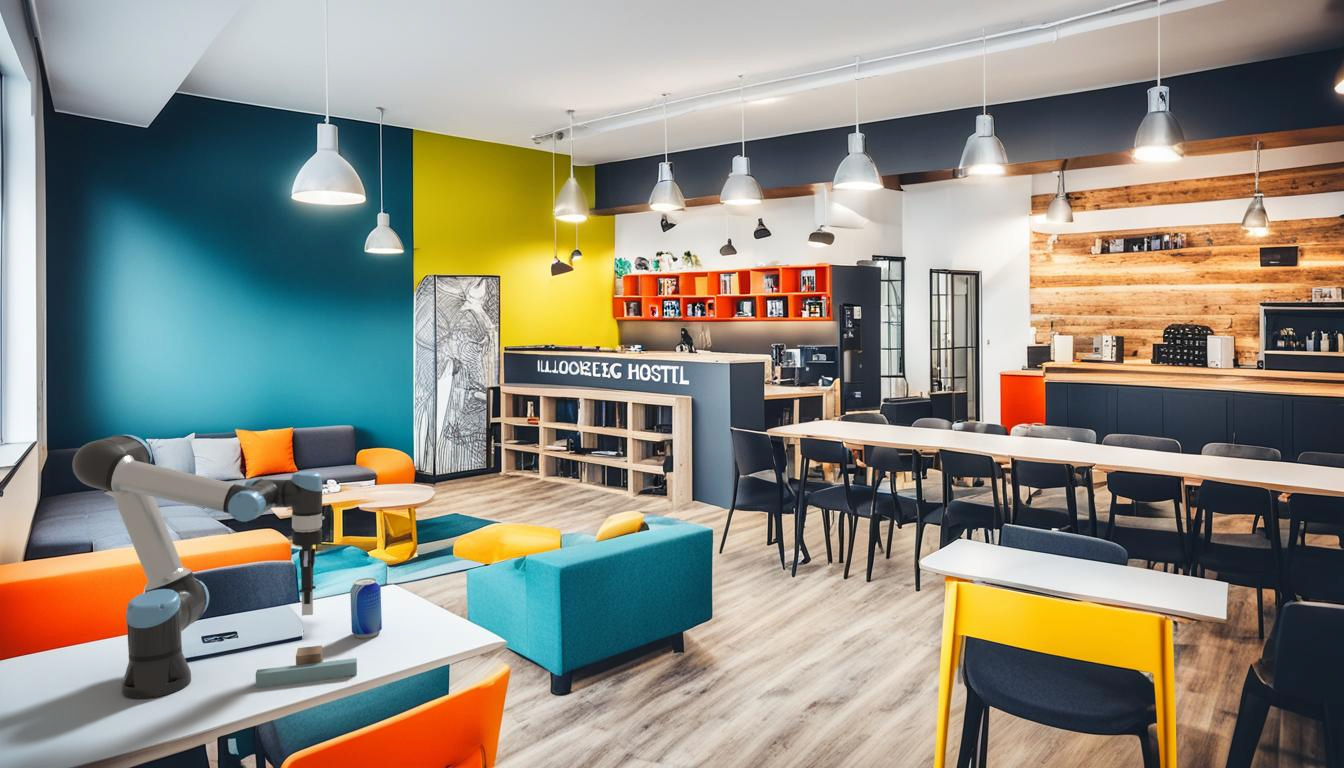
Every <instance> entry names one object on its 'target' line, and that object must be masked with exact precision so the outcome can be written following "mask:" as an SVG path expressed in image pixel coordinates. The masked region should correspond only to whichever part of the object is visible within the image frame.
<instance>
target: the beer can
mask: <svg viewBox="0 0 1344 768" xmlns="http://www.w3.org/2000/svg"><path fill="white" fill-rule="evenodd" d="M381 590H382V589H381V585H380V584H379V582H378V580H377V578H374V577H363V578H359V579H356V580H354V581H353V584H352V587H351V588H350V615H351V617H350V618H351V622H350V623H351V633H352V634H353V635H354V637H355V638H357V639H370V638H374V637H376V636H378V635H379V634H380V632H381V630H382V629H383V624H382V620H383V619H382V596H381V595H382V594H381V592H382V591H381Z"/></svg>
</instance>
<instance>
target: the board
mask: <svg viewBox="0 0 1344 768" xmlns="http://www.w3.org/2000/svg"><path fill="white" fill-rule="evenodd" d="M357 661H358V658H357V657H355V658H353V657H352V658H345V659H338V660H328V661H323V662H319V663H311V664H302V665H296V664H295V665H286V666H279V667H277V666H276V667H269V668H268V667H267V668H261V669H260V668H259V669H256V672H255V688H265V687H273V686H274V687H275V686H280V685H289V684H297V683H305V682H313V681H321V680H322V679H323V680H328V679H327V678H331V679H336V678H335V677H339V678H344V677H343V676H347V677H352V676H351V675H355V676H357V675H358V666H357V665H358V662H357Z"/></svg>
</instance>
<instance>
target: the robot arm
mask: <svg viewBox="0 0 1344 768" xmlns="http://www.w3.org/2000/svg"><path fill="white" fill-rule="evenodd" d="M152 461H153V452H152V449H151V448H150V446H149V445H148V443H147V442H146V441H145V440H143V439H142V438H141V437H138V436H136V435H132V434H116V435H111V436H109V437H105V438H103V439H102V438H101V439H98V440H94V441H91V442H88V443H86V444H84V445H82V446H81V447H80V448H78V450H77V451H76V453H75V455H74V456H73V459H72V471H73V474H74V475H75V477H76V479H78V481H80V482H81V483H82V484H84V485H86V486H88V487H91V488H95V489H99V490H102V491H103V493H104V495H108V496H109V497H112V499H114V503H115V504H116V506H117V510H118V512H119V515H120V517H121V519H122V521H123V524H124V527H125V528H126V531H127V533H128V536H129V538H130V541H131V543H132V545H133V548H134V550H135V552H136V553H135V554H136V555H137V557H138V560H139V562H140V565H141V567H142V569H143V572H144V574H145V577H146V579H147V583H146V585H145V586H144V591H145V593H139V594H138V595H137V596H134V597H133V598H131V600H129V602H128V603H127V605H126V614H125V621H126V631H127V649H128V650H127V651H128V663H127V667H126V671H125V673H124V677H123V679H122V683H121V689H122V690H121V693H122V695H123V696H124V697H126V698H130V699H151V698H157V697H162V696H166V695H169V694H172V693H176V692H177V691H180V690H182V689H185V687H187V686H188V685H189V684H190V683H191V682H192V673H191V669H190V667H189V665H188V663H187V660H186V658H185V656H184V653H183V649H182V648H183V647H182V646H183V645H182V632H183V631H184V630H185V629H187V628H188V627H189V626H190V625H192V624H194V623H195V622H196V621H199V619H200V618H201V616H203V614H204V613H206V612H205V611H206V610H207V608H208V606H209V603H210V593H209V590H208V589H209V588H208V587H207V586H206V585H205V583H204V582H203V581H201V580H198V579H197V578H195V576H194V573H193V571H192V570H191V569H189V568H187V567H184V566H183V564H182V561H181V559H180V556H179V553H178V551H177V549H176V546H175V544H174V542H173V539H172V536H171V534H170V532H169V529H168V527H167V525H166V521H165V520H164V518H163V515H162V512H161V510H160V508H159V506H158V503H157V500H156V498H159V499H163V500H167V501H170V502H176V503H180V504H186V505H189V506H194V507H198V508H202V509H207V510H210V511H211V510H212V511H216V512H220V513H225V514H229V515H230V516H231V517H232V518H233V519H234V520H236V521H239V522H248V521H252V520H255V519H257V518H259V517H260V516H262V515H263V514H264V513H266V512H268V511H269V510H271V509H273V508H277V509H278V508H286V509H287V508H291V529H293V530H292V533H291V537H292V540H291V541H292V545H294V546H297V547H301V549H299V552H298V559H299V568H300V579H301V582H300V583H301V585H300V586H301V589H299V590H298V592H299V593H301V616H312V615H314V590H315V589H316V585H314V583H315V582H314V566H315V563H316V561H315V560H316V557H315V556H316V554H317V553H316V551H317V550H316V548H314V546H317V545H319V544H321V543H322V541H323V529H322V526H323V520H325V518H326V517H325V516H324V515H323V490H324V489H323V488H324V487H323V480H322V474H321V473H320V472H318V471H314V470H311V471H310V470H305V471H301V470H300V471H296V472H294V473H292V475H291V478H290V479H272V478H270V479H264V478H258V479H249V480H247V481H246V482H245V484H244V485H241V484H237V483H233V482H228V481H225V480H220V479H215V478H211V477H207V476H202V475H200V474H199V475H198V474H194V473H189V472H186V471H181V470H176V469H172V468H168V467H163V466H160V465H155V464H151V463H152ZM299 593H298V594H299Z"/></svg>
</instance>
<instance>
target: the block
mask: <svg viewBox="0 0 1344 768" xmlns="http://www.w3.org/2000/svg"><path fill="white" fill-rule="evenodd" d="M319 662H324V658H323V645H313V646H306V647H304V646H303V647H298V648H297V651H296V653H295V665H302V664H311V663H319Z"/></svg>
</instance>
